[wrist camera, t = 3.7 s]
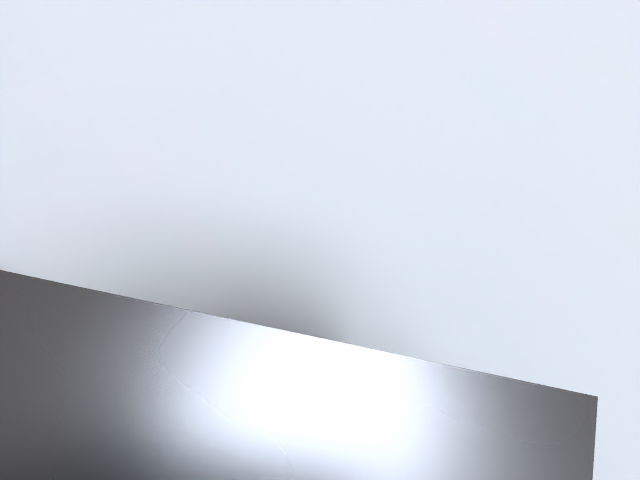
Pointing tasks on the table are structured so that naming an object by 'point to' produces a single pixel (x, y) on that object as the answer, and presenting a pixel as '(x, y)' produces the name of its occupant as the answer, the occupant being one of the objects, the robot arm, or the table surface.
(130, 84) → the table surface
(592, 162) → the table surface
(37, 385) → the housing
